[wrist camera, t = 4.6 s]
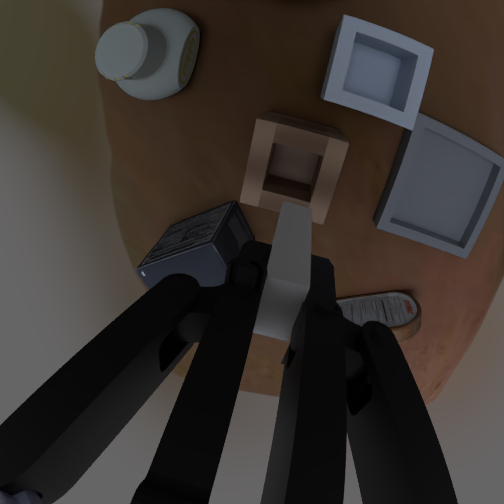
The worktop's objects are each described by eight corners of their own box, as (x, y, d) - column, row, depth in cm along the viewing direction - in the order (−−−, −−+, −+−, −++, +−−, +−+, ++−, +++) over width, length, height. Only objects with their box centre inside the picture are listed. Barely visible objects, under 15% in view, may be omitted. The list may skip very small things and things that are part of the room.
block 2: (336, 30, 24) (344, 14, 17) (406, 55, 23) (433, 49, 17) (320, 96, 28) (323, 99, 22) (389, 119, 28) (412, 130, 21)
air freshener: (146, 12, 25) (96, -1, 17) (210, 15, 25) (172, -5, 16) (129, 93, 31) (77, 103, 23) (188, 102, 31) (146, 113, 22)
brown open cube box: (268, 110, 30) (256, 118, 23) (340, 129, 30) (349, 143, 23) (254, 176, 34) (239, 202, 28) (320, 194, 34) (323, 224, 27)
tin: (315, 313, 44) (313, 356, 37) (312, 297, 42) (310, 341, 35) (413, 300, 39) (426, 342, 32) (414, 283, 38) (429, 325, 31)
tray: (410, 109, 27) (418, 112, 24) (499, 156, 26) (510, 162, 24) (372, 218, 34) (376, 228, 32) (459, 248, 34) (466, 258, 31)
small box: (191, 263, 43) (162, 312, 34) (168, 225, 40) (131, 268, 31) (257, 242, 39) (241, 294, 30) (236, 198, 36) (210, 240, 28)
